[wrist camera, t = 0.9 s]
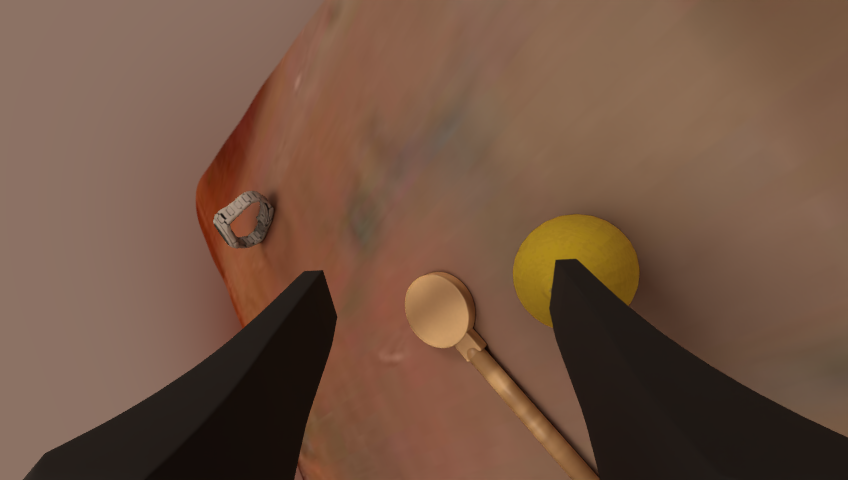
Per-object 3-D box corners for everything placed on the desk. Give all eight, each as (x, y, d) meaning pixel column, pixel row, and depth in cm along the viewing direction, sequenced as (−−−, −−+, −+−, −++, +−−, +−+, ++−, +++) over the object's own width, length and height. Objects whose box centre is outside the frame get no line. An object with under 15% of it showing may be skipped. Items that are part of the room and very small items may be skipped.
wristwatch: (250, 232, 40) (201, 238, 36) (266, 184, 38) (216, 184, 33) (267, 253, 39) (219, 261, 35) (286, 204, 36) (236, 207, 32)
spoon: (680, 516, 21) (680, 534, 20) (606, 548, 23) (603, 565, 22) (438, 256, 27) (429, 259, 26) (401, 303, 30) (391, 307, 29)
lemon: (558, 311, 23) (511, 363, 16) (529, 225, 23) (472, 243, 17) (659, 294, 20) (652, 349, 13) (626, 195, 20) (602, 202, 14)
